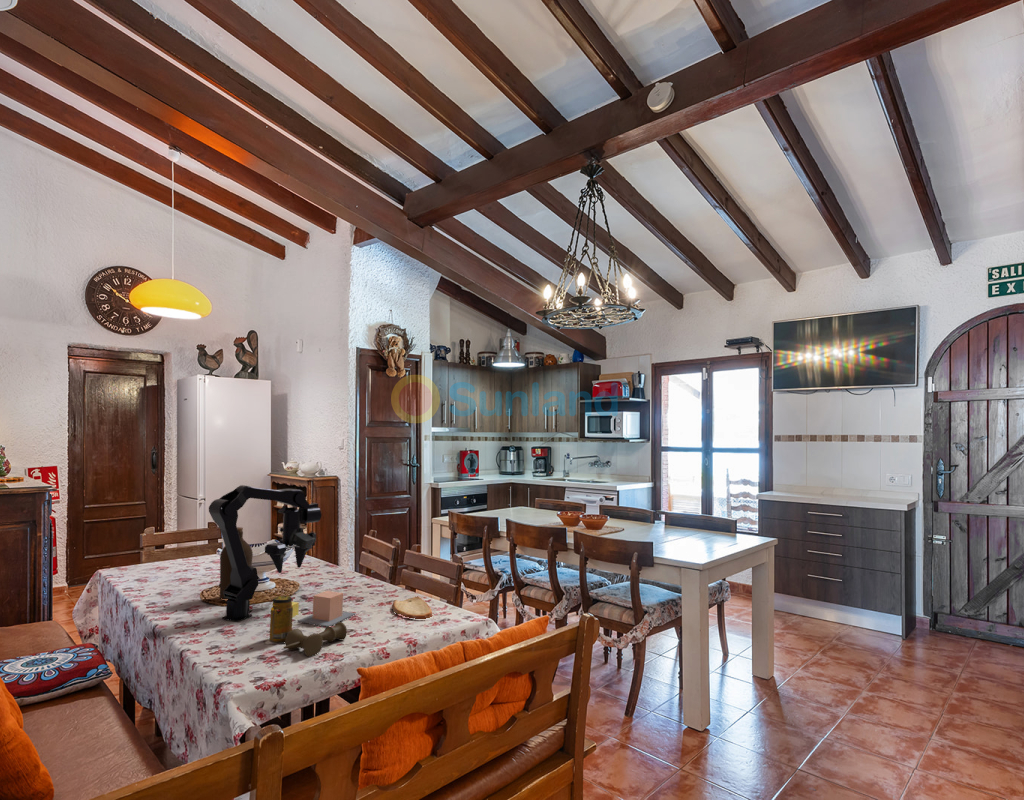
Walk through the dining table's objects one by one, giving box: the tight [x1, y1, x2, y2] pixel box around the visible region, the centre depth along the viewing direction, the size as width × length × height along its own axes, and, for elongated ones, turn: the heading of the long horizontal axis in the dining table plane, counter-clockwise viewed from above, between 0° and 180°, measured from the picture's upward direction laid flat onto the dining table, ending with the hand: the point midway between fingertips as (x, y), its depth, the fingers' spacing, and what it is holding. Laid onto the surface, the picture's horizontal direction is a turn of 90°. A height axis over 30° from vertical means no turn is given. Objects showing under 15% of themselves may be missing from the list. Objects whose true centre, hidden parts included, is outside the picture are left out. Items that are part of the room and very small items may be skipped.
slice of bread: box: [391, 595, 434, 619], centre depth 200 cm, size 18×18×4 cm
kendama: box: [283, 621, 348, 657], centre depth 165 cm, size 6×10×20 cm
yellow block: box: [292, 601, 300, 618], centre depth 192 cm, size 4×4×4 cm
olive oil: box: [218, 526, 254, 599], centre depth 210 cm, size 11×11×25 cm
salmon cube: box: [312, 590, 344, 621], centre depth 190 cm, size 7×7×7 cm
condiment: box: [264, 595, 294, 645], centre depth 171 cm, size 7×8×12 cm
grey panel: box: [297, 610, 357, 628], centre depth 190 cm, size 14×12×1 cm
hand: (289, 570), depth 204 cm, fingers open, 9 cm apart
